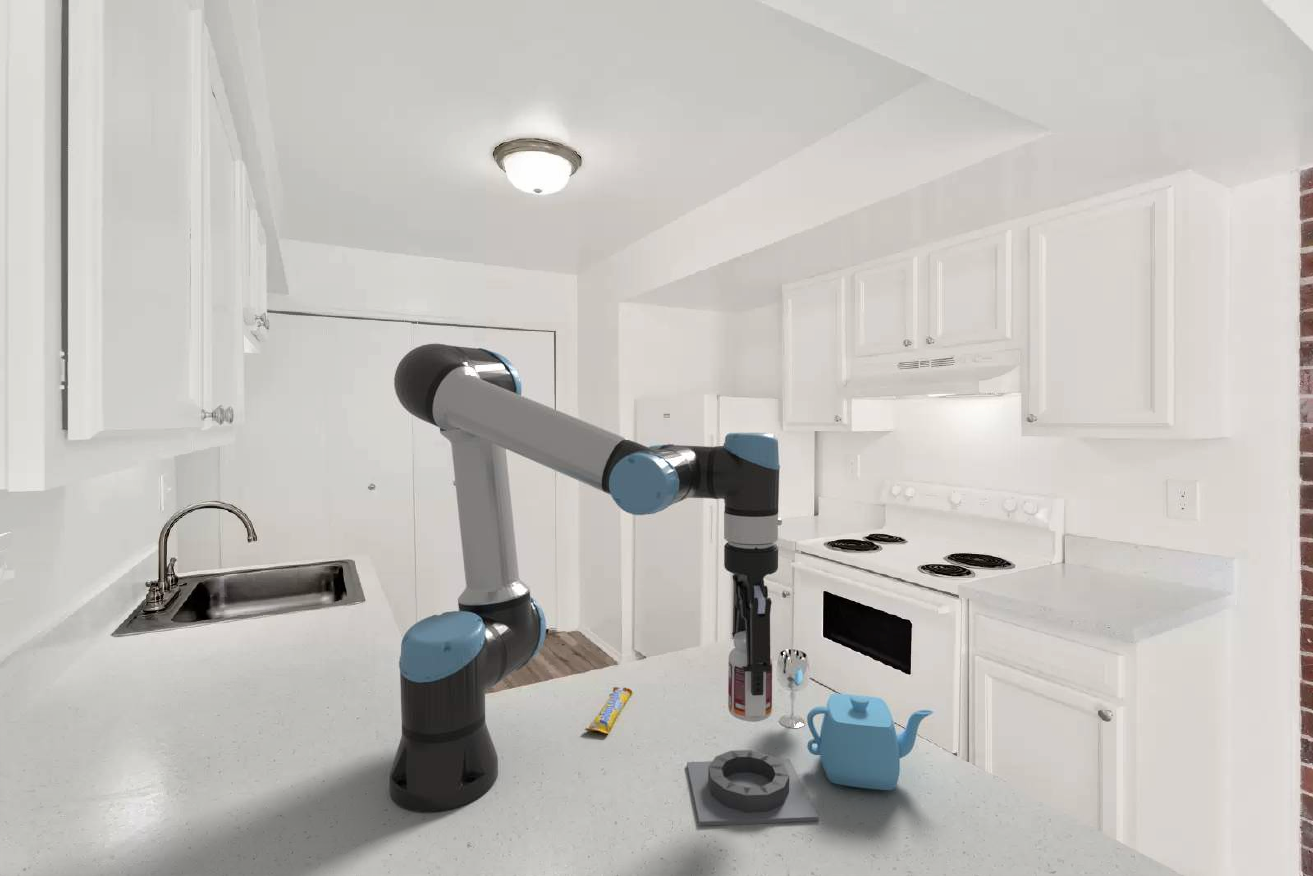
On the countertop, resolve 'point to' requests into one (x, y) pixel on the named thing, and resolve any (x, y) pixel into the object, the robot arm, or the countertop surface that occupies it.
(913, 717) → the teapot
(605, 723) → the candy bar
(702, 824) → the grey ring base plate
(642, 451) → the robot arm
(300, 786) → the countertop surface
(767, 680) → the pill bottle
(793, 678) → the wineglass
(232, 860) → the countertop surface
